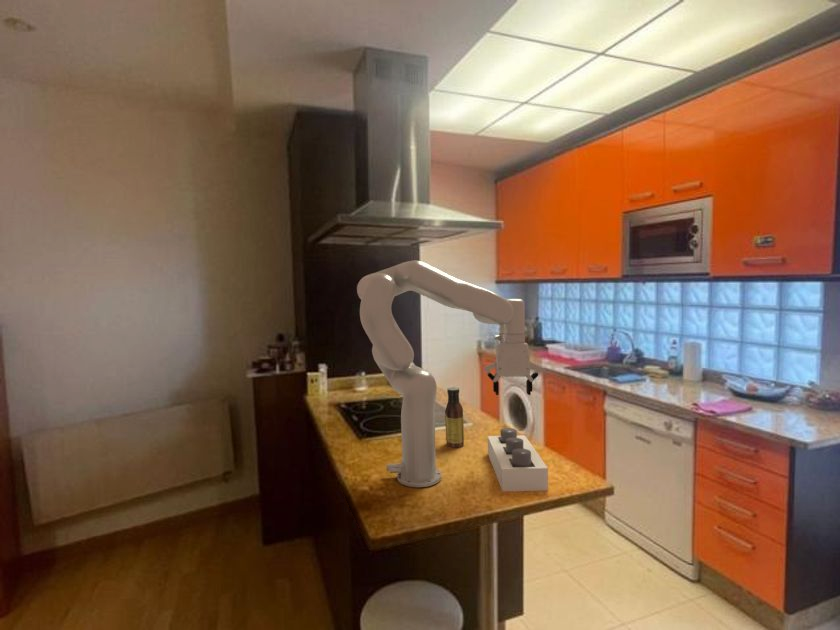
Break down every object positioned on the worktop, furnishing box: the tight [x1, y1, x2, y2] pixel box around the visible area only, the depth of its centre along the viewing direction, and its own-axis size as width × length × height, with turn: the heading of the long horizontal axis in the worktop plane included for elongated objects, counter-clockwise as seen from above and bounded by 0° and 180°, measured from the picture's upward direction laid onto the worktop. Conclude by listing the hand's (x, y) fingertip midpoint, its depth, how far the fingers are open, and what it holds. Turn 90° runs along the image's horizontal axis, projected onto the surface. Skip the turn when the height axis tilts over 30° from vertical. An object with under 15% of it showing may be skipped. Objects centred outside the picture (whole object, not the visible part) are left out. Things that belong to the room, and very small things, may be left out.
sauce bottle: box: [444, 387, 465, 448], centre depth 149 cm, size 7×6×20 cm
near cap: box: [512, 448, 531, 467], centre depth 118 cm, size 5×5×6 cm
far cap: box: [499, 427, 518, 444], centre depth 136 cm, size 5×5×6 cm
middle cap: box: [506, 438, 523, 455], centre depth 127 cm, size 5×5×6 cm
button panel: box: [487, 434, 549, 492], centre depth 127 cm, size 12×26×6 cm, turn 179°
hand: (512, 394), depth 134 cm, fingers open, 9 cm apart
